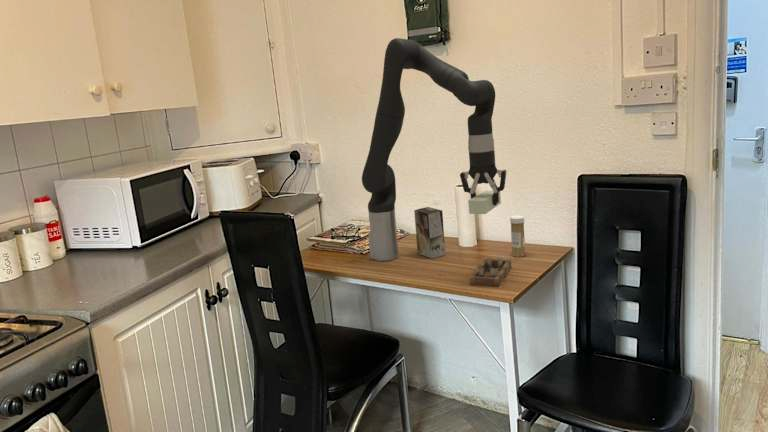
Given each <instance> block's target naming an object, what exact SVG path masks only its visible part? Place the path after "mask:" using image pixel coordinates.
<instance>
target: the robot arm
mask: <svg viewBox="0 0 768 432" xmlns="http://www.w3.org/2000/svg"><path fill="white" fill-rule="evenodd" d="M383 60H384V61H383V70H382V71H383V72H382V79H381V81H382V82H381V87H380V93H379V98H378V104H377V108H376V112H375V118H374V123H373V130H372V134H371V138H370V139H371V140H370V145H369V151H368V154H367V157H366V161H365V164H364V167H363V170H362V174H361V175H362V176H361V183H362V186H363V188H364V190H365V191H367V192H368V193H369V194H371V196H370V199H369V201H368V203H367V211H368V221H369V232H367V236H368V247H369V248H368V249H369V258H371V259H370V260H374V259H375V260H374V261H377V260H378V262H386V261H387V262H388V261H393V260H396V259H398V258H399V245H398V232H397V220H396V209H395V208H396V206H395V205H396V201H397V189H396V188H397V187H396V175H395V171H394V169H393V168H392V166H391V165H389V164H388V163H389V159H390V155H391V153H392V151H393V148H394V147H395V145H396V143H397V140H398V138H399V136H400V135H401V131H402V128H403V124H404V118H405V112H406V107H405V103H404V98H403V95H402V91H401V80H402V75H403V71H404V70H415V71H418V72H421V73H423V74H426V75H427V76H428V77H429V78H430V79H431V80H432V81H433V82H434V83H435V85H438V86H439V87H441V88H442V89H444V90H446V91H448V92H450V93H451V94H452V95H453V96H454V97H455V98H456V99H457V100H458V101H459V102H461V103H462V104H464V105H466V106H469V107H475V108H474V112H473V113H472V114H470V115H469V116H468V118H467V132H468V133H467V134H468V140H467V141H468V143H467V144H468V147H467V148H468V149H467V150H468V161H469V169H468V171H462V172H461V173H460V174H459V176H460V180H461V186H462V188H463V192H464V193H469V194H470V199H472V198H473V197H475V196H477V193H476V189H477V187H478V185H479V184H480V185H481V184H488V185H489V187H490V188H491V191H493V192H494V193H493V201H494V205H497V203H498V202H499V191H500V192H502V191H504V189H505V185H506V179H507V171H508V170H506V169H498V167H496V155H495V154H496V153H495V152H496V151H495V140H494V134H493V123H492V119H493V114H494V108H495V102H496V91H495V87H494V85H493V83H492V82H491V81H489V80H488V79H480V80H479V79H478V80H470V78H469V76H468V74H467V73H466V72H465V71H463V70H462V69H459V68H457V67H455V66H454V65H451V64H449V63H448V62H446V61H444V60H442V59H440V58H438V57H437V56H436V55H434V54H433V53H432V52H430V51H429V50H428V49H426V48H425V47H424V46H423V45H421V44H420V43H419V42H418V41H416V40H414V39H407V38H398V37H395V38H393V39H391V40H390V41H389V42H388V44H387V47H386V49H385V53H384V58H383ZM497 174H498V177H499V178H500V181H499V186H498V185H497V183H496V181H495V176H496V175H497ZM469 176H470V178H471V179H472V180H473V182H472V184H471V186H469V181H468V179H469Z"/></svg>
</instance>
